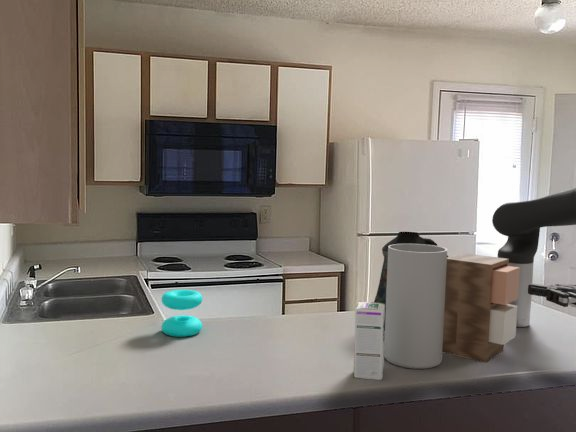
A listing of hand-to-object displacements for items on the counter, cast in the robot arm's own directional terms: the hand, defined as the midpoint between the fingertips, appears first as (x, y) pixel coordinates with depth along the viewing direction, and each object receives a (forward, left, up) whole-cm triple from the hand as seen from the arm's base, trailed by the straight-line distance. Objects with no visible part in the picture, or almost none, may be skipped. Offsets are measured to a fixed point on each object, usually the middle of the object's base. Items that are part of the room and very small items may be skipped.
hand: (529, 288), depth 126 cm
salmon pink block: (-4, -5, -4) cm, 7 cm away
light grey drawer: (-4, -5, -12) cm, 14 cm away
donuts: (-18, -78, -17) cm, 82 cm away
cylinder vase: (-1, -24, -17) cm, 30 cm away
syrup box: (+8, -35, -17) cm, 40 cm away
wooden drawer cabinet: (-8, -9, -17) cm, 21 cm away
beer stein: (-29, -20, -17) cm, 39 cm away
